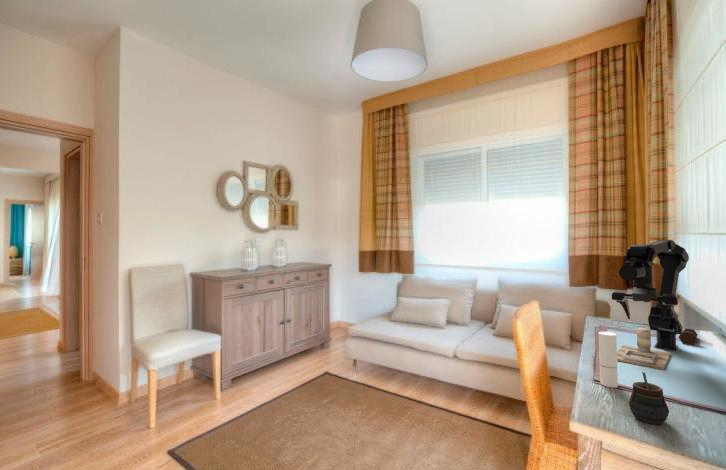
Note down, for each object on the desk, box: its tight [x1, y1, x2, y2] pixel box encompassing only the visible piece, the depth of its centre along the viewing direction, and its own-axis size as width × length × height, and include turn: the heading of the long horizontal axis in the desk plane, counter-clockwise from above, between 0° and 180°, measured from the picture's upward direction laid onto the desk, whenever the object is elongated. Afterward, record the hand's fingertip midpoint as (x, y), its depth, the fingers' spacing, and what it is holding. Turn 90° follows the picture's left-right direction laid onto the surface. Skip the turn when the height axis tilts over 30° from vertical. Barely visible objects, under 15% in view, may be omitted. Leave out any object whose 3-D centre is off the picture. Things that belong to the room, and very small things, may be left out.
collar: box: [622, 350, 656, 364], centre depth 121 cm, size 8×8×1 cm
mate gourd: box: [628, 371, 670, 425], centre depth 83 cm, size 7×8×10 cm
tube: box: [598, 331, 619, 388], centre depth 102 cm, size 4×4×15 cm
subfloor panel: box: [617, 344, 672, 371], centre depth 124 cm, size 20×14×1 cm
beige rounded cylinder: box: [636, 327, 652, 353], centre depth 128 cm, size 4×4×8 cm
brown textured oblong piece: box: [677, 328, 699, 346], centre depth 143 cm, size 6×5×15 cm
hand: (644, 320), depth 127 cm, fingers open, 9 cm apart
